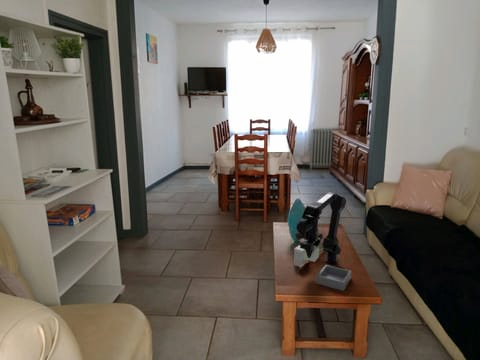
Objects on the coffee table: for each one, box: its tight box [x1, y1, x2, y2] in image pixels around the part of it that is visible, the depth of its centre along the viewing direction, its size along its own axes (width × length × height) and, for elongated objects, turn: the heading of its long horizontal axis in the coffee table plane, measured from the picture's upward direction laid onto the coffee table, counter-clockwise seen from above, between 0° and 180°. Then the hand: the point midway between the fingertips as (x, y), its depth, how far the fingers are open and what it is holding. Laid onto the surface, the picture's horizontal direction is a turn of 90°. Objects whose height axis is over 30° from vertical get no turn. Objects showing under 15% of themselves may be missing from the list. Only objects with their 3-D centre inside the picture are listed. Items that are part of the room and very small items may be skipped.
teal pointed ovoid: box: [287, 197, 310, 243], centre depth 233 cm, size 12×14×30 cm
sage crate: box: [303, 245, 320, 263], centre depth 192 cm, size 6×6×6 cm
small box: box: [293, 244, 306, 267], centre depth 206 cm, size 8×6×10 cm
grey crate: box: [316, 264, 352, 292], centre depth 188 cm, size 14×14×4 cm
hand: (311, 255), depth 192 cm, fingers closed on sage crate, 6 cm apart
